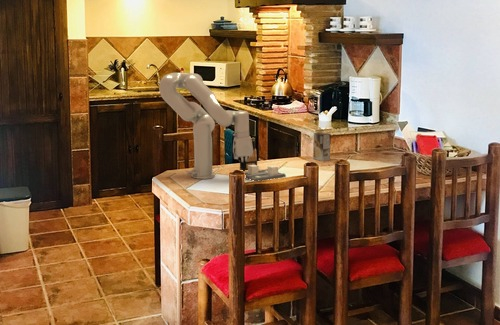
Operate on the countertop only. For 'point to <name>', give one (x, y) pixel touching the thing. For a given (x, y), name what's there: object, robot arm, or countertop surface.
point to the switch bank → (263, 175)
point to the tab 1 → (252, 169)
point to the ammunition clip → (251, 160)
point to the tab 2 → (272, 170)
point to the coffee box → (321, 146)
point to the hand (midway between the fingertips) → (243, 168)
